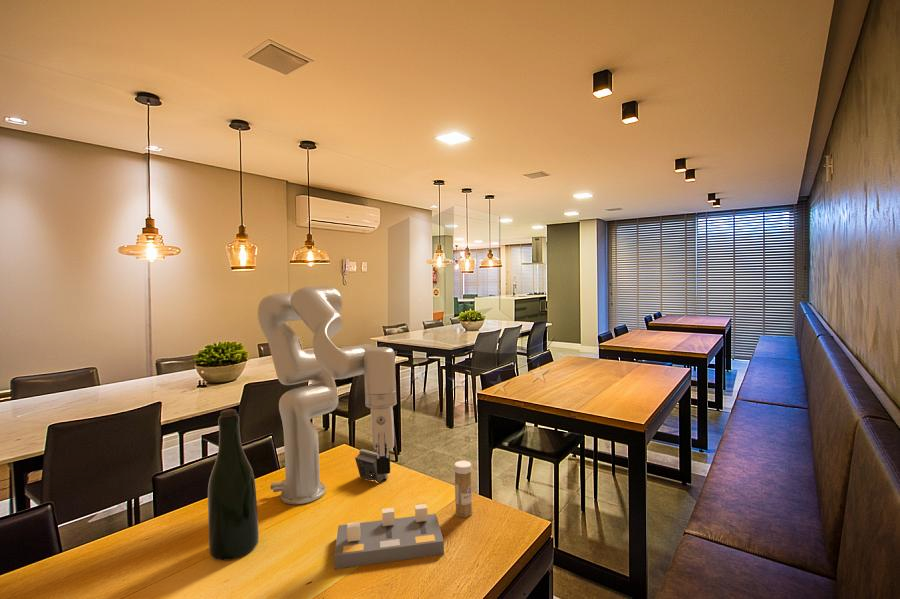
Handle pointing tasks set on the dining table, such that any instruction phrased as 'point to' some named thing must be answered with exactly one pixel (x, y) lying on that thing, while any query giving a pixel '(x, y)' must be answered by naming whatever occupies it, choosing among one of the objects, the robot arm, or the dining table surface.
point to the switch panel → (389, 542)
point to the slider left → (353, 531)
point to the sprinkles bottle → (463, 488)
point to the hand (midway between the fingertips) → (383, 472)
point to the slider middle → (388, 516)
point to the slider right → (421, 512)
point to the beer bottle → (231, 495)
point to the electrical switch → (369, 466)
